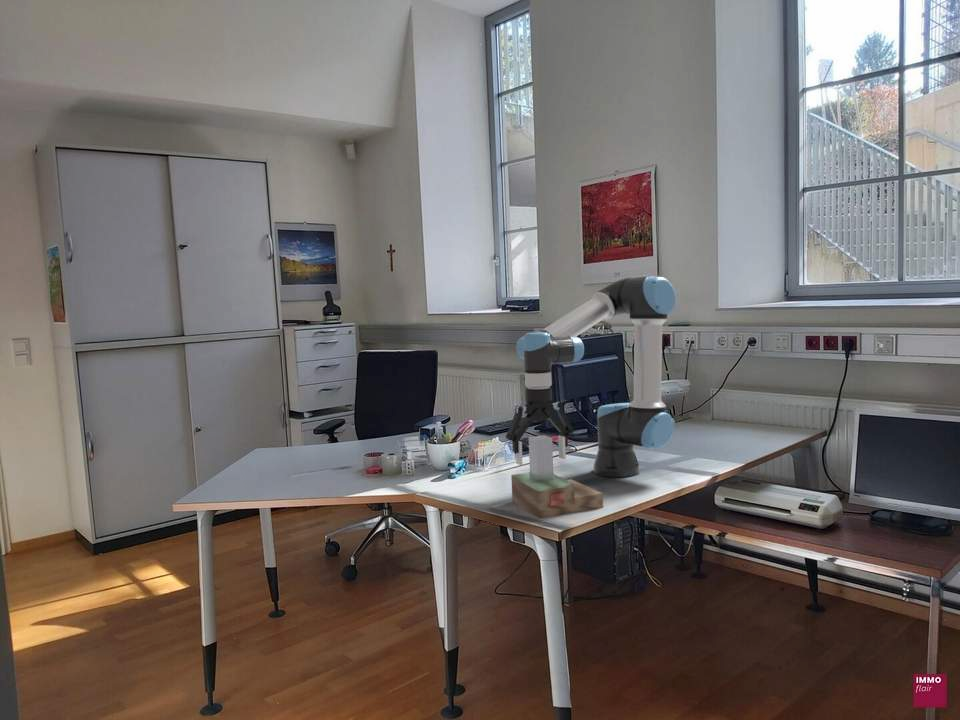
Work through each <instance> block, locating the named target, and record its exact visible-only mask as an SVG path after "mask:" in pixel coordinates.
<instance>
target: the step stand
mask: <svg viewBox="0 0 960 720" xmlns="http://www.w3.org/2000/svg"><path fill="white" fill-rule="evenodd" d="M553 475H554V480H550V481H543V482H536V481H534V480H532V479H530V471H529V472H522V473H516V474H511V476H510V477H511V478H510V479H511V500H512V502H513V503H514V504H516V505H517V506H519V507H521V508H522V509H524V510H525V511H527V512H529V513H531V514H532V515H534V516H535V517H537V518H538V519H541V518H546V517H553V516H558V515H559V516H560V515H565V514H572V513H577V512H583V511H589V510H595V509H600V508H602V509H603V508H604V493H603V492H601V491H598V490H596V489H595V488H592V487H590V486H588V485H585V484H584V483H582V482H578V481H577V480H574V479H573V478H571V479H565V478H563V477H560V476H559V475H556V474H554V473H553Z"/></svg>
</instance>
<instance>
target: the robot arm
mask: <svg viewBox="0 0 960 720" xmlns="http://www.w3.org/2000/svg"><path fill="white" fill-rule="evenodd" d="M676 297H677V296H676V291H675V289H674V287H673V284H671V283H670V281H669V280H668V279H667V278H666V277H662V276H652V275H651V276H641V277H625V278H621V279H619V280H615V281H614V282H612V283H610V284H608V285H607V286H605V287H602V288H601V289H600V290H598V291H596V292H595V293H594V294H592V296H591V297H590V298H591V299H590V300H588V301H586V302H584V303H583V304H582V305H580V306H578V307H577V308H575V309H573V310H572V311H570V312H568V313H567V314H565V315H563V316H562V317H561V318H559V319H558V320H556V321H554V322H552V323H551V324H549V325H548V326H546V327H545V328H543V329H542V330H540V331H536V332H527V333H525V334H524V335H523V336H521V337H520V338H519V339H518V340H517V343H516V344H515V345H516V346H515V348H516V351H515V352H516V353H517V356H518V357H519V358H520V359H522V360H523V362H524V363H523V364H524V365H523V366H524V386H525V387H526V388H525V390H524V391H525V392H524V394H525V395H524V396H525V406H520V405H516V406H515V409H514V416H513V419H512V420H511V423H510V425H509V427H508V430H507V432H506V435H505V439H506V440H508V441H511V443H512V451H513V453H514V454H515V464H516V465H519V466H523V443H522V442H523V441H520V440H521V439H522V437H523V436H524V434H525V433H526V432H527V430H528V428H529V426H530V425H531V424H533V422H534V421H536V422H537V421H538V422H539V421H541V420H544V421H545V420H548V421H549V422H550V424H552V426H553V427H554V428H555V429H556V430H557V431H558V432H559V435H558V436H557V437H558V438H557V439H558V440H557V441H558V458H560V459H562V460H567V459H566V458H567V455H566V447H568V445H569V443H568V442H569V441H568V437H569V436H570V434H573V433H574V428H573V426H572V425H571V422H570V421H569V418H568V417H567V415H566V413H565V410H564V407H563V402H560V401H555V402H554V403H553V402H552V401H553V388H552V387H551V386H552V385H553V380H552V378H553V377H552V365H560V364H568V363H570V364H572V363H575V362H579V361H581V359H583V357H584V354H585V345H584V343H583V340H582V339H581V338H580V337H579V335H581V334H583V333H584V332H585V331H587V330H589V329H591V328H592V327H594V326H595V325H596V324H598V323H599V322H602V321H603V320H611V319H612V318H613V317H615V316H618V315H619V316H620V315H624V314H625V315H627V314H628V315H629V321H630V322H631V323H632V324H633V325H634V333H633V337H634V338H633V341H634V342H633V343H634V344H633V345H634V347H633V353H634V354H633V400H632V401H631V402H618V403H610V404H605V405H601V406H599V407H598V408H597V416H596V426H597V444H598V445H597V447H598V449H597V453H596V457H595V460H594V462H593V473H594V474H595V475H597V476H602V477H609V478H624V477H632V476H635V475H636V476H637V474H639V473H640V463H639V462H638V461H639V460H638V457H637V454H636V452H635V449H634V446H638V447H643V448H646V449H655V450H656V449H661V448H663V447H665V446H666V445H668V442H669V441H670V440H671V438H672V436H673V433H674V428H675V426H674V425H675V423H674V419H673V418H672V416H671V415H670V414H669V413H668V412H667V405H666V404H665V402H663V401H662V375H663V374H662V372H663V371H662V370H663V369H662V362H663V360H662V359H663V355H662V354H663V325H664V324H665V323H666V322H667V321H668V314H669V313H671V312H672V311H673V310H674V308H675V306H676V299H677V298H676ZM553 410H555V412H556V413H557V416H558V417H559V420H560V421H561V423H560V422H559V421H558V420H557V418H556V416H555V415H554V414H553V413H552V411H553ZM525 413H527V414H526V415H525V416H524V418H523V421H522V417H523V414H525ZM521 421H522V422H521ZM520 422H521V424H520Z"/></svg>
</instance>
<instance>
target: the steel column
mask: <svg viewBox="0 0 960 720" xmlns="http://www.w3.org/2000/svg"><path fill="white" fill-rule="evenodd" d="M553 447H554V446H553V437H551V436H547V435H537V436H528V453H529V454H528V455H529V456H528V457H529V472H530V479H532V480H534V481H536V482H543V481H550V480H554V475H555V474H554V456H553V455H554V453H553V452H554V450H553ZM553 474H554V475H553Z"/></svg>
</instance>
